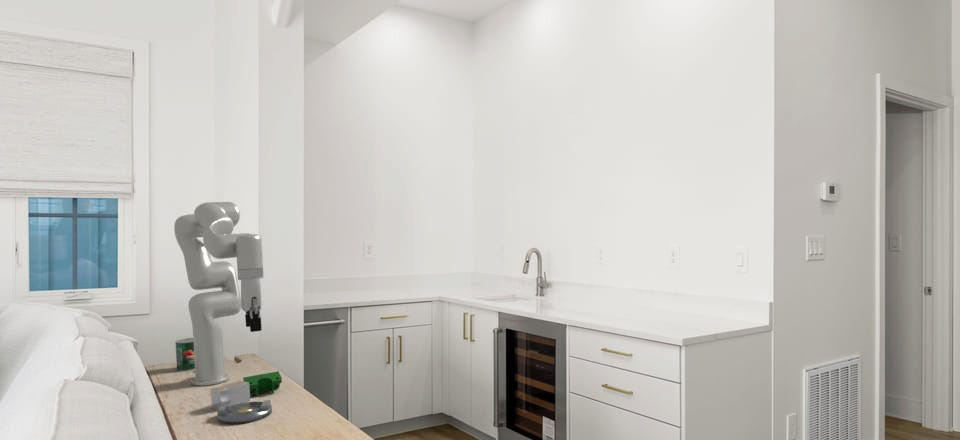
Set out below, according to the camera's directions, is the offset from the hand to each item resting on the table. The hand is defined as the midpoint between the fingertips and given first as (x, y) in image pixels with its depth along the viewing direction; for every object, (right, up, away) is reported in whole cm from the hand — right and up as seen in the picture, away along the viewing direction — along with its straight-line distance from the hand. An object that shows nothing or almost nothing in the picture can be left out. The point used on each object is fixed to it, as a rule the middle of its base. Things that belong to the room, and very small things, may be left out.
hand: (253, 328), depth 191 cm
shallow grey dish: (+1, -24, -11) cm, 26 cm away
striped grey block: (-7, -24, 0) cm, 25 cm away
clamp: (-1, -23, +10) cm, 26 cm away
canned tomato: (-43, -24, +47) cm, 68 cm away
